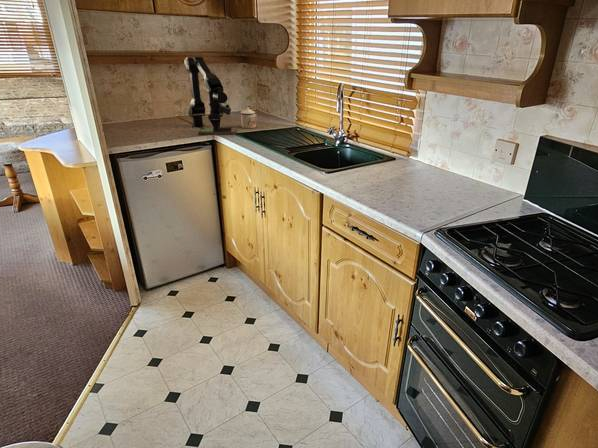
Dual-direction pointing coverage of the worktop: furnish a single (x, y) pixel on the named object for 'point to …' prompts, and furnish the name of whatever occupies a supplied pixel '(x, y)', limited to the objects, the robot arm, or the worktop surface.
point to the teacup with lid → (248, 118)
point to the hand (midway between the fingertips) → (217, 129)
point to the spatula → (218, 129)
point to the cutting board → (218, 132)
